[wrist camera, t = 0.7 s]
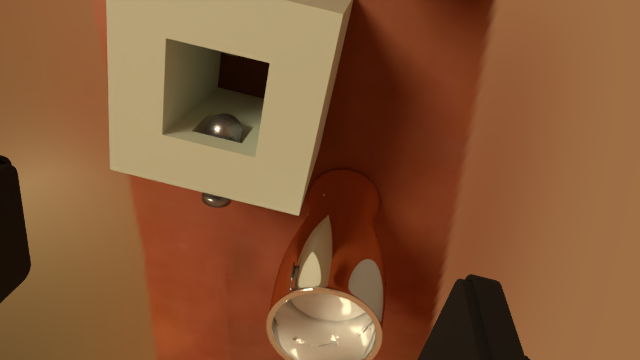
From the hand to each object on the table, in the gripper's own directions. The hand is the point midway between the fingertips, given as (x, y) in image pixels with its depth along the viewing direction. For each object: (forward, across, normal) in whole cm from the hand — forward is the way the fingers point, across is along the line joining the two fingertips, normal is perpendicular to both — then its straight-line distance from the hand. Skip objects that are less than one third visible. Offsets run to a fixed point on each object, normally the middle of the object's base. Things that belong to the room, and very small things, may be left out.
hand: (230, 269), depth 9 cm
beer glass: (+26, -4, +13) cm, 29 cm away
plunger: (+20, +5, +8) cm, 22 cm away
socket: (+26, +6, +3) cm, 26 cm away
